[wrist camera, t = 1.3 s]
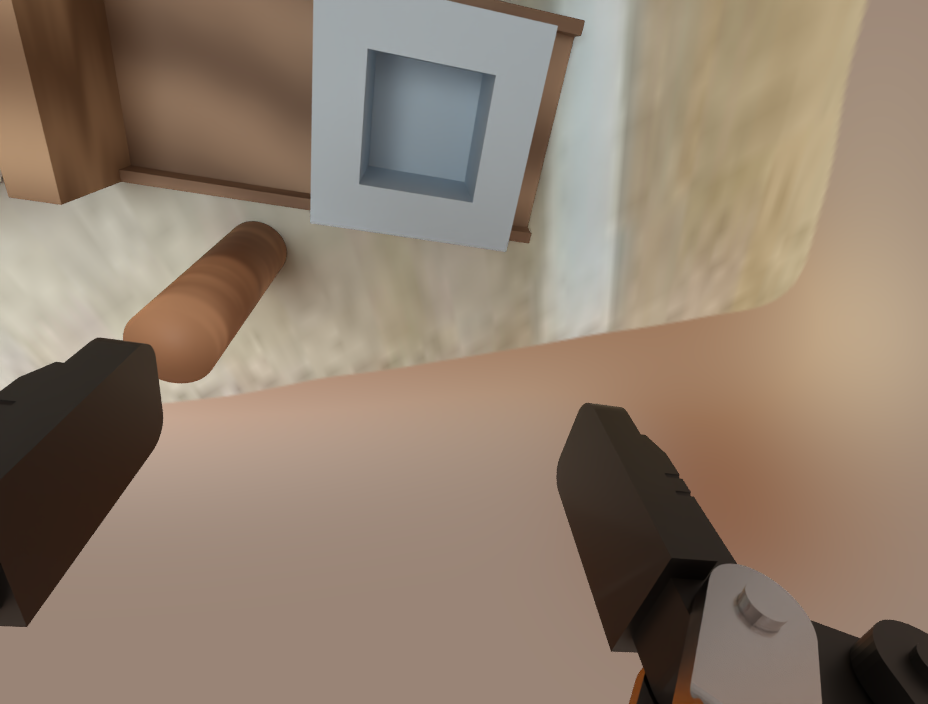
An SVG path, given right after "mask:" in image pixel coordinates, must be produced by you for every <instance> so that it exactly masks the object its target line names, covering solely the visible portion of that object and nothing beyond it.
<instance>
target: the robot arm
mask: <svg viewBox="0 0 928 704" xmlns="http://www.w3.org/2000/svg"><path fill="white" fill-rule="evenodd" d="M162 425H163V410H162V402H161V394H160V386H159V378H158V370H157V362H156V355H155V352H154V349H153V348H152V346H151V345H149V344H145V343H137V342H130V341H122V340H115V339H107V338H96V339H94V340H92V341H91V342H89V343H88V344H87V345H86V346H84V347H83V348H82V349H81V350H79V351H78V352H77V353H76V354H74V355H73V356H72V357H71V358H69V359H68V360H67V361H66V362H65V363H61V362H55V363H52V364H50V365H47V366H45V367H43V368H40V369H38V370H35V371H33V372H31V373H28V374H26V375H23V376H21V377H19V378H17V379H16V380H15V381H13V382H12V383H11V384H9V385H8V386H7V387H5V388H4V389H3V390H1V391H0V626H15V627H27V626H28V624H29V623H30V622H31V620H32V619H33V618H34V616H35V615H36V613H37V612H38V611H39V609H40V608H41V606H42V605H43V604H44V602H45V601H46V599H47V598H48V597H49V595H50V594H51V592H52V591H53V590H54V588H55V587H56V585H57V584H58V583H59V581H60V580H61V578H62V577H63V576H64V574H65V573H66V571H67V570H68V569H69V567H70V566H71V564H72V563H73V562H74V560H75V559H76V557H77V556H78V555H79V553H80V552H81V551H82V549H83V548H84V546H85V545H86V544H87V542H88V541H89V539H90V538H91V536H92V535H93V534H94V532H95V531H96V530H97V528H98V527H99V525H100V524H101V523H102V521H103V520H104V518H105V517H106V516H107V514H108V513H109V511H110V510H111V509H112V507H113V506H114V504H115V503H116V502H117V500H118V499H119V497H120V496H121V495H122V493H123V492H124V490H125V489H126V487H127V486H128V485H129V483H130V482H131V481H132V479H133V478H134V476H135V475H136V474H137V472H138V471H139V469H140V468H141V467H142V465H143V464H144V462H145V461H146V460H147V458H148V457H149V455H150V454H151V453H152V451H153V450H154V448H155V446H156V444H157V442H158V440H159V437H160V434H161V430H162ZM557 487H558V491H559V494H560V497H561V500H562V503H563V506H564V509H565V513H566V516H567V519H568V522H569V525H570V527H571V531H572V534H573V537H574V540H575V543H576V546H577V549H578V552H579V555H580V558H581V561H582V564H583V567H584V570H585V573H586V576H587V579H588V583H589V585H590V589H591V592H592V594H593V597H594V601H595V604H596V607H597V610H598V613H599V616H600V619H601V622H602V625H603V628H604V631H605V634H606V637H607V640H608V643H609V646H610V649H611V651H614V652H638V654H639V657H640V660H641V662H642V665H643V668H642V669H641V670H640V672H639V673H638V675H637V678H636V680H635V683H634V687H633V690H632V694H631V698H630V701H629V704H928V634H927V633H925V632H923V631H921V630H920V629H917V628H915V627H913V626H911V625H909V624H905V623H903V622H899V621H895V620H882V621H879V622H878V623H876V624H875V625H874V626H873V627H872V628H871V629H870V630H869V631H868V632H867V633H866V634H864V635H863V636H862V637H861V638H858V637H855V636H852V635H849V634H846V633H844V632H841V631H838V630H836V629H833V628H830V627H827V626H824V625H822V624H819V623H817V622H814V621H811V620H810V619H809V617H808V616H807V614H806V613H805V611H804V610H803V608H802V607H801V606H800V605H799V603H798V602H797V601H796V600H795V599H794V598H793V597H792V596H791V595H790V594H789V593H788V592H787V591H786V590H785V589H784V588H782V587H781V586H780V585H779V584H777V583H776V582H774V581H773V580H772V579H770V578H769V577H767V576H765V575H764V574H762V573H760V572H758V571H756V570H754V569H751V568H749V567H746V566H742V565H739V564H737V563H736V561H735V560H734V558H733V557H732V555H731V554H730V552H729V551H728V549H727V548H726V546H725V544H724V543H723V541H722V540H721V538H720V537H719V535H718V534H717V532H716V531H715V529H714V527H713V526H712V524H711V523H710V522H709V520H708V518H707V517H706V515H705V513H704V512H703V510H702V509H701V507H700V506H699V504H698V503H697V501H696V499H695V498H694V497H691V496H690V493H691V492H690V490H689V489H688V487H687V486H686V484H685V482H684V481H683V479H679V473H678V472H677V470H676V469H675V467H674V465H673V464H672V462H671V461H670V459H669V458H668V456H667V455H666V453H665V452H663V451H662V450H661V449H660V448H659V447H658V446H657V445H656V444H655V443H654V442H652V441H651V440H650V439H649V438H648V437H647V436H646V435H641V434H640V432H639V431H638V429H637V427H636V426H635V424H634V423H633V421H632V419H631V418H630V416H629V415H628V413H627V411H626V410H625V409H624V408H622V407H614V406H607V405H599V404H592V403H585V404H584V405H583V406H582V407H581V408H580V410H579V412H578V414H577V416H576V419H575V422H574V424H573V426H572V429H571V431H570V434H569V436H568V439H567V441H566V444H565V446H564V448H563V451H562V453H561V456H560V459H559V462H558V466H557Z"/></svg>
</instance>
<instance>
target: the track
mask: <svg viewBox="0 0 928 704" xmlns="http://www.w3.org/2000/svg"><path fill="white" fill-rule="evenodd" d="M447 1H452V2H456V3H461V4H465V5H469V6H474V7H478V8H482V9H487V10H491V11H495V12H500V13H504V14H508V15H513V16H517V17H522V18H526V19H530V20H535V21H539V22H543V23H548V24H552V25H556V26H558V28H557V32H556V37H555V41H554V45H553V50H552V54H551V58H550V63H549V67H548V72H547V76H546V80H545V85H544V89H543V93H542V98H541V102H540V107H539V111H538V115H537V120H536V124H535V128H534V133H533V137H532V142H531V146H530V150H529V155H528V159H527V163H526V168H525V172H524V176H523V181H522V185H521V190H520V194H519V198H518V203H517V207H516V211H515V216H514V220H513V225H512V229H511V233H510V238H509V240H510V241H516V242H523V243H529V241H530V237H531V232H530V231H529V229H528V228H527V227H528V223H529V219H530V215H531V211H532V207H533V203H534V199H535V195H536V191H537V187H538V182H539V178H540V174H541V170H542V166H543V162H544V158H545V154H546V150H547V146H548V142H549V138H550V134H551V130H552V125H553V121H554V117H555V113H556V109H557V105H558V101H559V97H560V93H561V89H562V85H563V81H564V77H565V72H566V68H567V64H568V60H569V56H570V52H571V48H572V44H573V40H574V37H576V36H581V34H582V30H583V26H584V22H585V21H584V20H580V19H575V18H571V17H567V16H563V15H558V14H554V13H550V12H545V11H541V10H537V9H533V8H528V7H524V6H520V5H516V4H511V3H507V2H503V1H498V0H447ZM312 65H313V0H0V169H1V173H2V176H3V179H4V183H5V186H6V190H7V193H8V196H9V197H11V198H18V199H25V200H32V201H39V202H46V203H53V204H60V205H62V204H64V203H67V202H70V201H72V200H75V199H77V198H80V197H83V196H85V195H88V194H90V193H93V192H96V191H98V190H101V189H103V188H106V187H108V186H111V185H114V184H116V183H119V182H127V183H133V184H140V185H146V186H153V187H160V188H166V189H173V190H179V191H186V192H193V193H199V194H206V195H213V196H219V197H226V198H232V199H239V200H246V201H252V202H259V203H265V204H272V205H279V206H285V207H292V208H298V209H305V210H310V204H311V135H312Z"/></svg>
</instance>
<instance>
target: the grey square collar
mask: <svg viewBox="0 0 928 704" xmlns="http://www.w3.org/2000/svg"><path fill="white" fill-rule="evenodd" d="M557 28H558V26H556V25H552V24H548V23H543V22H539V21H535V20H530V19H526V18H522V17H517V16H513V15H508V14H504V13H500V12H495V11H491V10H487V9H482V8H478V7H474V6H469V5H465V4H461V3H456V2H452V1H447V0H313V65H312V135H311V204H310V223H313V224H320V225H327V226H333V227H340V228H347V229H354V230H361V231H367V232H374V233H381V234H388V235H394V236H401V237H408V238H415V239H422V240H428V241H435V242H442V243H449V244H456V245H462V246H469V247H476V248H483V249H490V250H496V251H503V252H506V251H507V246H508V242H509V238H510V233H511V229H512V225H513V220H514V216H515V211H516V207H517V203H518V198H519V194H520V190H521V185H522V181H523V176H524V172H525V168H526V163H527V159H528V155H529V150H530V146H531V142H532V137H533V133H534V128H535V124H536V120H537V115H538V111H539V107H540V102H541V98H542V93H543V89H544V85H545V80H546V76H547V72H548V67H549V63H550V58H551V54H552V50H553V45H554V41H555V37H556V32H557Z"/></svg>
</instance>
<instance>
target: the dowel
mask: <svg viewBox="0 0 928 704" xmlns="http://www.w3.org/2000/svg"><path fill="white" fill-rule="evenodd" d="M286 257H287V250H286V246H285V243H284V241H283V239H282V237H281V236H280V235H279V233H278V232H277V231H275V230H274V229H273V228H272V227H270V226H268V225H266V224H264V223H261V222H254V221H250V222H244V223H242V224H240V225H238V226H237V227H235V228H234V229H233V230H232V231H231V232H230V233H228V234H227V235H226V236H225V237H224V238H223V239H222V240H220V241H219V242H218V243H217V244H216V245H215V246H214V247H212V248H211V249H210V250H209V251H208V252H207V253H206V254H204V255H203V256H202V257H201V258H200V259H199V260H198V261H196V262H195V263H194V264H193V265H192V266H191V267H190V268H188V269H187V270H186V271H185V272H184V273H183V274H182V275H180V276H179V277H178V278H177V279H176V280H175V281H174V282H172V283H171V284H170V285H169V286H168V287H167V288H166V289H165V290H163V291H162V292H161V293H160V294H159V295H158V296H157V297H155V298H154V299H153V300H152V301H151V302H150V303H149V304H147V305H146V306H145V307H144V308H143V309H142V310H141V311H139V312H138V313H137V314H136V315H135V316H134V317H133V318H132V319H131V320H129V322H128V323H127V325H126V327H125V329H124V333H123V341H130V342H137V343H145V344H149V345H151V346H152V348H153V349H154V352H155V355H156V362H157V370H158V378H159V379H160V380H163V381H167V382H172V383H190V382H194V381H197V380H200V379H202V378H203V377H205V376H206V375H207V374H209V373H210V371H211V370H212V369H213V367H214V366H215V364H216V363H217V361H218V360H219V358H220V357H221V356H222V354H223V353H224V351H225V350H226V348H227V347H228V345H229V344H230V342H231V341H232V339H233V338H234V337H235V335H236V334H237V332H238V331H239V329H240V328H241V326H242V325H243V323H244V322H245V320H246V319H247V317H248V316H249V315H250V313H251V312H252V310H253V309H254V307H255V306H256V304H257V303H258V301H259V300H260V298H261V297H262V296H263V294H264V293H265V291H266V290H267V288H268V287H269V285H270V284H271V282H272V281H273V279H274V278H275V277H276V275H277V274H278V272H279V271H280V269H281V268H282V266H283V265H284V263H285V260H286Z"/></svg>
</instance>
